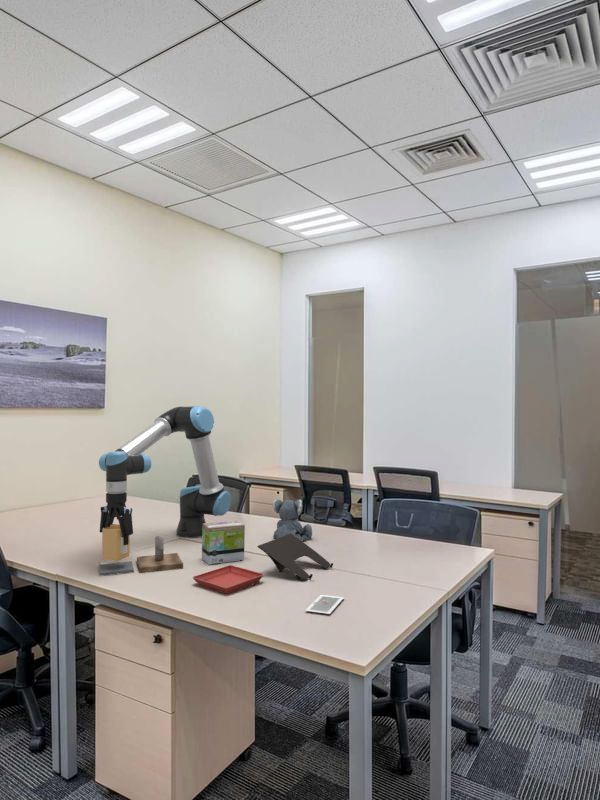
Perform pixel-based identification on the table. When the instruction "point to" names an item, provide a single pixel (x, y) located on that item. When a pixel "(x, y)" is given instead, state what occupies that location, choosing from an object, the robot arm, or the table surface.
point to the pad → (116, 568)
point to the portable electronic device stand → (292, 555)
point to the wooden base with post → (159, 559)
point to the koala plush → (290, 520)
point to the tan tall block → (113, 543)
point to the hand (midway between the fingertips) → (116, 552)
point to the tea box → (223, 542)
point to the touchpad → (324, 604)
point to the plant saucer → (228, 578)
